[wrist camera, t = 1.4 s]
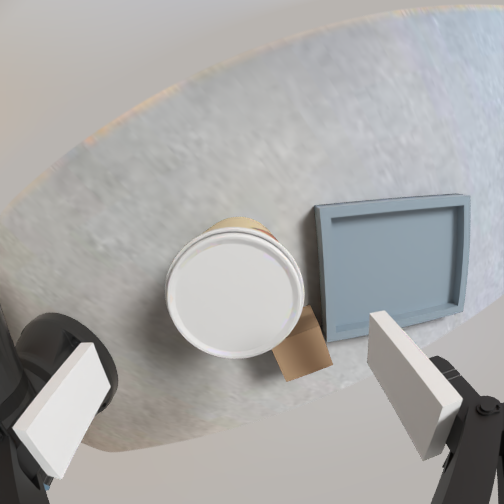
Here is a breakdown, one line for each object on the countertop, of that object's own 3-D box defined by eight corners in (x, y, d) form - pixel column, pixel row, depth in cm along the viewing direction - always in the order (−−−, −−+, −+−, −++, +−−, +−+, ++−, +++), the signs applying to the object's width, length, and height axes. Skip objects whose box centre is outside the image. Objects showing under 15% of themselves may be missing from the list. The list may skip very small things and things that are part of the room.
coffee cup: (293, 286, 32) (316, 347, 21) (206, 305, 33) (187, 372, 21) (274, 198, 30) (291, 214, 18) (181, 220, 30) (143, 249, 19)
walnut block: (281, 355, 34) (286, 381, 30) (266, 320, 33) (269, 344, 28) (322, 340, 34) (332, 364, 29) (309, 304, 33) (319, 325, 28)
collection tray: (322, 331, 34) (326, 342, 31) (314, 205, 30) (319, 208, 28) (453, 304, 33) (463, 311, 31) (458, 193, 30) (470, 195, 27)
